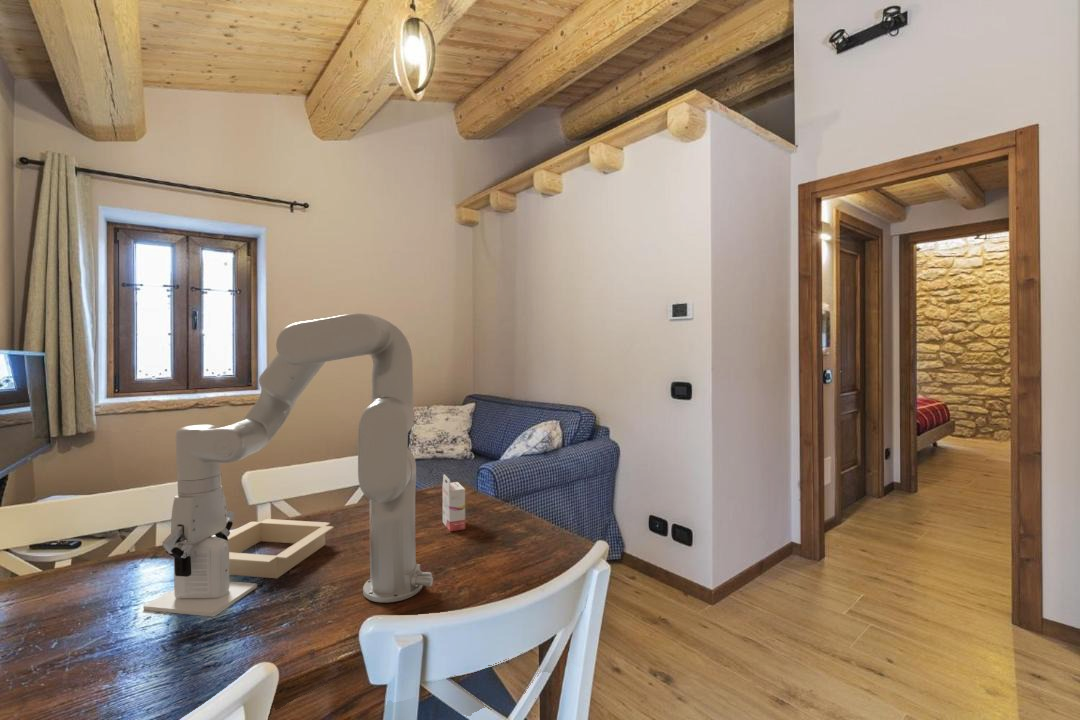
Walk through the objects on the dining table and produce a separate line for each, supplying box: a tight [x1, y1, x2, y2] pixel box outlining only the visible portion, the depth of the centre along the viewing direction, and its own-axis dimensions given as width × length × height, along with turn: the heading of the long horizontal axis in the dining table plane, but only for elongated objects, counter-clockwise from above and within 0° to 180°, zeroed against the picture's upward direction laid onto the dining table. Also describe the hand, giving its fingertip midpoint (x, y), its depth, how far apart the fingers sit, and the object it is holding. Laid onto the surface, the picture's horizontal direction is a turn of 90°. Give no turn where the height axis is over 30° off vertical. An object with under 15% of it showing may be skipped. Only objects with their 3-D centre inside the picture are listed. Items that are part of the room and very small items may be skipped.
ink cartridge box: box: [441, 473, 466, 532], centre depth 148 cm, size 9×5×15 cm, turn 25°
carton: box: [228, 518, 335, 579], centre depth 127 cm, size 24×24×5 cm
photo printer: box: [173, 536, 231, 598], centre depth 107 cm, size 10×4×12 cm, turn 93°
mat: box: [143, 581, 258, 618], centre depth 107 cm, size 16×12×1 cm
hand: (202, 564), depth 107 cm, fingers open, 9 cm apart
